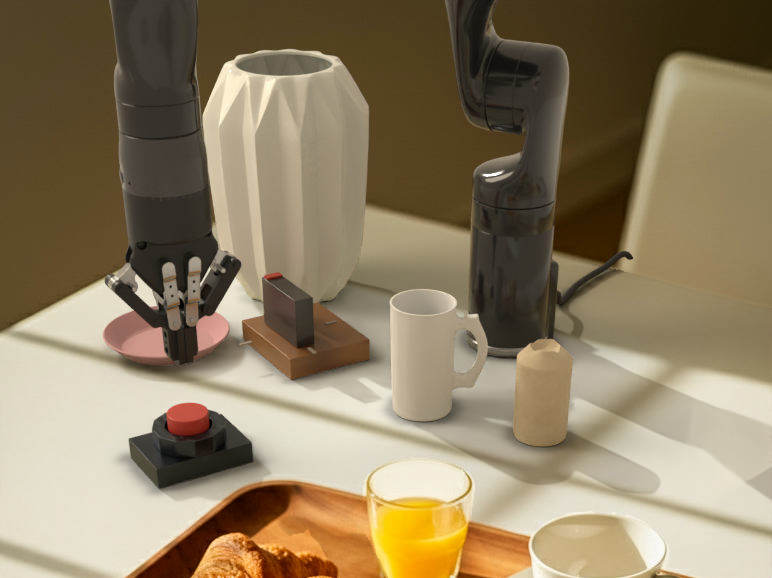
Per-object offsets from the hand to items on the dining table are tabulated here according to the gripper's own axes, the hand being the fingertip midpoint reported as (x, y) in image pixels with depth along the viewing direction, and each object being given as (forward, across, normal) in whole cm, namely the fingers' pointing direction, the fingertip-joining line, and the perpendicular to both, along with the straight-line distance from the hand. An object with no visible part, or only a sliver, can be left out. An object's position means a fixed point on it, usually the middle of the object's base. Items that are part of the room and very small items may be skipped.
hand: (182, 360), depth 127 cm
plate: (+11, +9, +26) cm, 29 cm away
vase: (+11, +29, +32) cm, 45 cm away
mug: (+11, +26, -4) cm, 29 cm away
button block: (+11, 0, 0) cm, 11 cm away
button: (+7, 0, 0) cm, 7 cm away
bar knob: (+8, +19, +17) cm, 27 cm away
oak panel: (+11, +20, +17) cm, 28 cm away
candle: (+11, +32, -14) cm, 37 cm away
